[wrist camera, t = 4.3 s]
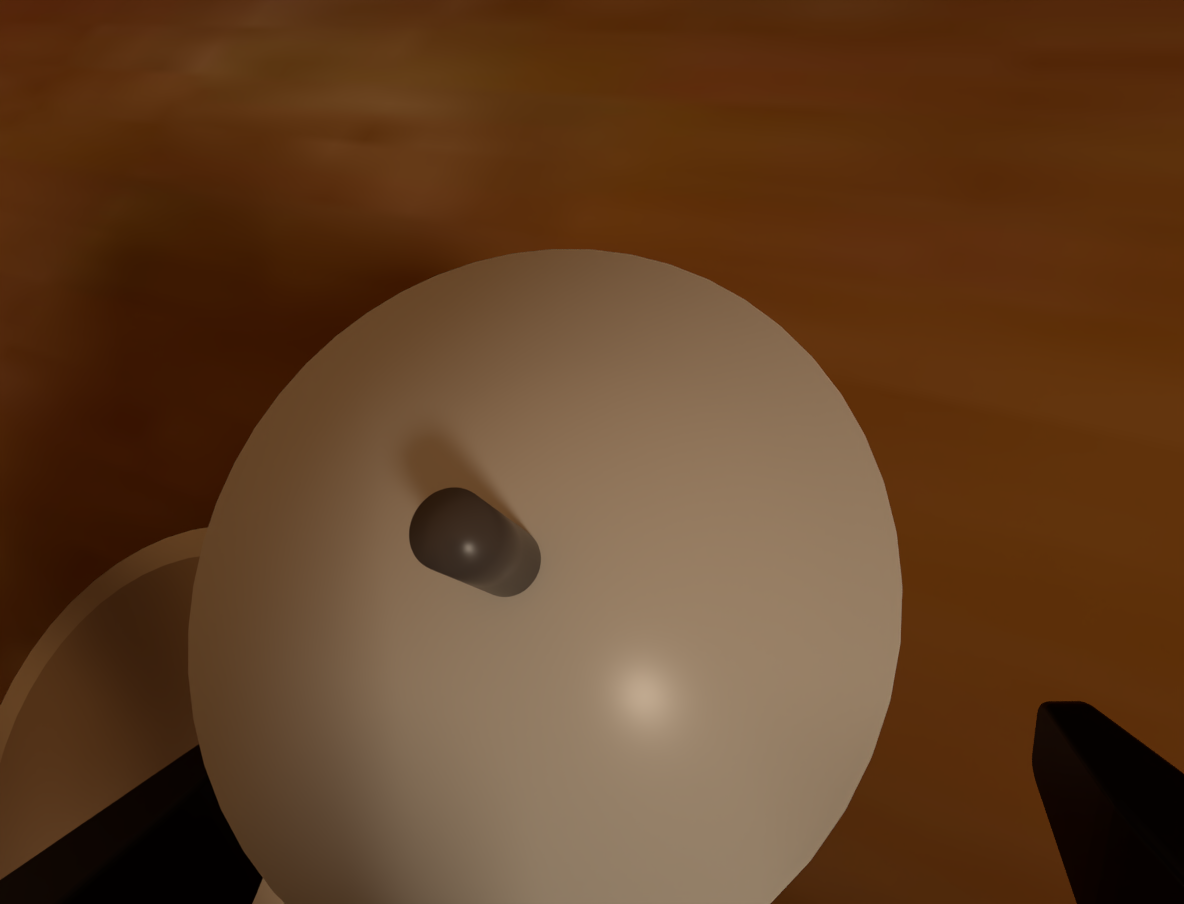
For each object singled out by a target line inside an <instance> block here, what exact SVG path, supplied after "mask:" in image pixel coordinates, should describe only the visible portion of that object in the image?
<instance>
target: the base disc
mask: <svg viewBox="0 0 1184 904" xmlns="http://www.w3.org/2000/svg"><path fill="white" fill-rule="evenodd" d="M207 529H208V527H207V528H201V529H195V530H190V531H187V532H184V533H180V534H177V535H174V536H171V537H167V538H165V539H163V540H160V541H158V542H156V543H154V544H152V545H149V546H147V547H145V548H143V549H141V550H139V551H137V552H136V553H134V554H132V555H131V556H129V557H127V558H126V559H124V560H122V561H121V562H119V563H117V564H116V565H114V566H113V567H112V568H111V569H109V570H108V571H107V572H105V573H104V574H103V575H101V576H100V577H99V578H97V579H96V580H95V581H93V582H92V583H91V584H90V585H89V586H88V587H87V588H86V589H85V590H84V591H82V592H81V593H80V594H79V595H78V596H77V597H76V598H75V599H74V600H73V601H72V602H71V603H70V604H69V605H68V606H67V607H66V608H65V609H64V610H63V612H62V613H61V614H60V615H59V616H58V617H57V618H56V619H55V620H54V622H53V623H52V624H51V625H50V626H49V628H48V629H47V630H46V632H45V633H44V634H43V636H42V637H41V638H40V640H39V641H38V642H37V644H36V645H35V646H34V648H33V649H32V650H31V652H30V653H29V655H28V657H27V658H26V660H25V662H24V663H23V665H22V666H21V668H20V670H19V671H18V673H17V675H16V676H15V678H14V679H13V681H12V683H11V685H10V687H9V689H8V691H7V693H6V695H5V697H4V699H3V701H2V703H1V705H0V880H1V879H2V878H4V877H5V876H7V875H8V874H10V873H11V872H12V871H14V870H15V869H17V868H18V867H20V866H21V865H23V864H24V863H26V862H27V861H29V860H30V859H31V858H33V857H34V856H36V855H37V854H39V853H40V852H42V851H43V850H45V849H46V848H47V847H49V846H50V845H52V844H53V843H55V842H56V841H58V840H59V839H61V838H62V837H64V836H65V835H66V834H68V833H69V832H71V831H72V830H74V829H75V828H77V827H78V826H80V825H81V824H83V823H84V822H85V821H87V820H88V819H90V818H91V817H93V816H94V815H96V814H97V813H99V812H100V811H102V810H103V809H104V808H106V807H107V806H109V805H110V804H112V803H113V802H115V801H116V800H118V799H119V798H121V797H122V796H123V795H125V794H126V793H128V792H129V791H131V790H132V789H134V788H135V787H137V786H138V785H139V784H141V783H142V782H144V781H145V780H147V779H148V778H150V777H151V776H153V775H154V774H156V773H157V772H158V771H160V770H161V769H163V768H164V767H166V766H167V765H169V764H170V763H172V762H173V761H175V760H176V759H177V758H179V757H180V756H182V755H183V754H185V753H186V752H188V751H189V750H191V749H192V748H194V747H195V746H196V745H198V744H199V741H198V737H197V733H196V728H195V724H194V720H193V712H192V703H191V694H190V685H189V676H188V628H189V619H190V610H191V602H192V593H193V585H194V580H195V576H196V571H197V567H198V562H199V558H200V554H201V549H202V545H203V541H204V538H205V535H206V532H207ZM253 904H285V903H284V902H283V901H282V900H281V899H280V898H279V897H278V896H277V895H276V894H275V893H274V892H273V891H272V889H271V888H270V887H269V885H268V884H267V883H266V881H265V880H264V879H262V882H261V884H260V887H259V889H258V892H257V894H256V897H255V899H254V901H253Z"/></svg>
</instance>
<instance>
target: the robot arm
mask: <svg viewBox="0 0 1184 904" xmlns="http://www.w3.org/2000/svg"><path fill="white" fill-rule="evenodd" d="M1032 766H1033V772H1034V777H1035V780H1036V784H1037V787H1038V790H1039V793H1040V796H1041V799H1042V802H1043V805H1044V808H1045V811H1046V813H1047V816H1048V819H1049V822H1050V825H1051V828H1052V831H1053V834H1054V837H1055V840H1056V843H1057V846H1058V849H1059V852H1060V855H1061V858H1062V861H1063V864H1064V867H1065V870H1066V873H1067V876H1068V879H1069V882H1070V885H1071V888H1072V891H1073V894H1074V897H1075V900H1076V903H1077V904H1184V773H1182V772H1181V771H1180V770H1178V769H1177V768H1175V767H1174V766H1173V765H1171V764H1170V763H1169V762H1167V761H1166V760H1165V759H1163V758H1162V757H1161V756H1159V755H1158V754H1157V753H1155V752H1154V751H1153V750H1151V749H1150V748H1148V747H1147V746H1146V745H1144V744H1143V743H1142V742H1140V741H1139V740H1138V739H1136V738H1135V737H1134V736H1132V735H1131V734H1130V733H1128V732H1127V731H1126V730H1124V729H1123V728H1121V727H1120V726H1119V725H1117V724H1116V723H1115V722H1113V721H1112V720H1111V719H1109V718H1108V717H1107V716H1105V715H1104V714H1103V713H1101V712H1100V711H1098V710H1097V709H1096V708H1094V707H1093V706H1091V705H1089V704H1087V703H1085V702H1081V701H1048V702H1044V703H1042V704H1041V705H1040V707H1039V709H1038V713H1037V720H1036V728H1035V737H1034V745H1033V753H1032ZM262 879H263V877H262V876H261V874H260V873H259V872H258V870H257V869H256V868H255V866H254V865H253V864H252V862H251V861H250V859H249V858H248V857H247V855H246V854H245V853H244V851H243V849H242V848H241V846H240V844H239V842H238V840H237V838H236V836H235V835H234V833H233V831H232V829H231V827H230V825H229V823H228V822H227V820H226V818H225V816H224V814H223V812H222V810H221V808H220V806H219V803H218V800H217V798H216V795H215V792H214V790H213V787H212V784H211V782H210V779H209V776H208V774H207V771H206V768H205V766H204V762H203V758H202V754H201V750H200V745H199V744H198V745H196V746H195V747H194V748H192V749H191V750H189V751H188V752H186V753H185V754H183V755H182V756H180V757H179V758H177V759H176V760H175V761H173V762H172V763H170V764H169V765H167V766H166V767H164V768H163V769H161V770H160V771H158V772H157V773H156V774H154V775H153V776H151V777H150V778H148V779H147V780H145V781H144V782H142V783H141V784H139V785H138V786H137V787H135V788H134V789H132V790H131V791H129V792H128V793H126V794H125V795H123V796H122V797H121V798H119V799H118V800H116V801H115V802H113V803H112V804H110V805H109V806H107V807H106V808H104V809H103V810H102V811H100V812H99V813H97V814H96V815H94V816H93V817H91V818H90V819H88V820H87V821H85V822H84V823H83V824H81V825H80V826H78V827H77V828H75V829H74V830H72V831H71V832H69V833H68V834H66V835H65V836H64V837H62V838H61V839H59V840H58V841H56V842H55V843H53V844H52V845H50V846H49V847H47V848H46V849H45V850H43V851H42V852H40V853H39V854H37V855H36V856H34V857H33V858H31V859H30V860H29V861H27V862H26V863H24V864H23V865H21V866H20V867H18V868H17V869H15V870H14V871H12V872H11V873H10V874H8V875H7V876H5V877H4V878H2V879H1V880H0V904H253V901H254V899H255V897H256V894H257V892H258V889H259V887H260V884H261V882H262Z"/></svg>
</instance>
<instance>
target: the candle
mask: <svg viewBox="0 0 1184 904" xmlns="http://www.w3.org/2000/svg"><path fill="white" fill-rule="evenodd" d="M901 610H902V579H901V570H900V560H899V551H898V542H897V533H896V529H895V525H894V521H893V517H892V513H891V509H890V505H889V501H888V497H887V493H886V489H885V485H884V481H883V479H882V476H881V474H880V471H879V469H878V466H877V464H876V461H875V459H874V457H873V454H872V452H871V449H870V447H869V444H868V442H867V439H866V437H865V435H864V433H863V431H862V429H861V428H860V426H859V424H858V423H857V421H856V419H855V417H854V416H853V414H852V412H851V410H850V409H849V407H848V405H847V404H846V402H845V400H844V398H843V397H842V395H841V393H840V392H839V391H838V389H837V388H836V387H835V386H834V384H833V383H832V382H831V380H830V379H829V378H828V377H827V375H826V374H825V373H824V371H823V370H822V369H821V368H820V366H819V365H818V364H817V362H816V361H815V360H814V359H813V357H812V356H811V355H810V354H809V353H808V352H807V351H806V350H805V349H803V348H802V347H801V346H800V345H799V344H798V343H797V342H796V341H795V340H794V339H793V338H792V337H791V336H790V335H789V334H788V333H787V332H786V331H785V330H784V329H783V328H782V327H781V326H780V325H778V324H777V323H776V322H774V321H773V320H772V319H770V318H769V317H768V316H766V315H765V314H764V313H762V312H761V311H760V310H758V309H757V308H755V307H754V306H753V305H751V304H750V303H749V302H747V301H746V300H745V299H743V298H741V297H739V296H737V295H735V294H734V293H732V292H730V291H728V290H726V289H725V288H723V287H721V286H719V285H717V284H715V283H714V282H712V281H710V280H708V279H706V278H703V277H701V276H698V275H696V274H693V273H690V272H688V271H685V270H683V269H680V268H678V267H675V266H673V265H670V264H666V263H662V262H658V261H655V260H651V259H647V258H643V257H639V256H635V255H631V254H623V253H615V252H607V251H599V250H591V249H549V250H540V251H531V252H522V253H513V254H508V255H504V256H500V257H495V258H491V259H486V260H482V261H478V262H474V263H471V264H468V265H465V266H462V267H459V268H456V269H453V270H450V271H447V272H445V273H442V274H439V275H436V276H434V277H432V278H430V279H428V280H426V281H423V282H421V283H419V284H417V285H415V286H413V287H411V288H409V289H406V290H404V291H402V292H400V293H399V294H397V295H395V296H394V297H392V298H390V299H389V300H387V301H385V302H384V303H382V304H380V305H379V306H377V307H375V308H374V309H372V310H371V311H369V312H367V313H366V314H365V315H363V316H362V317H361V318H359V319H358V320H357V321H355V322H354V323H353V324H351V325H350V326H349V327H347V328H346V329H345V330H343V331H342V332H341V333H339V334H338V335H337V336H336V337H334V338H333V339H332V340H331V341H330V342H329V343H328V344H327V345H326V346H325V347H324V348H323V349H321V350H320V351H319V352H318V353H317V354H316V355H315V356H314V357H313V358H312V359H311V360H309V361H308V362H307V363H306V364H305V366H304V367H303V368H302V369H301V370H300V371H299V372H298V373H297V375H296V376H295V377H294V378H293V379H292V380H291V381H290V382H289V384H288V385H287V386H286V387H285V388H284V389H283V390H282V391H281V393H280V394H279V395H278V396H277V398H276V399H275V401H274V402H273V403H272V405H271V406H270V407H269V409H268V410H267V412H266V413H265V414H264V416H263V417H262V418H261V420H260V421H259V423H258V424H257V425H256V427H255V428H254V430H253V432H252V434H251V435H250V437H249V439H248V440H247V442H246V444H245V446H244V447H243V449H242V451H241V452H240V454H239V456H238V458H237V459H236V461H235V463H234V465H233V467H232V469H231V471H230V474H229V476H228V478H227V480H226V482H225V485H224V487H223V489H222V491H221V493H220V496H219V498H218V500H217V502H216V505H215V508H214V511H213V514H212V517H211V520H210V523H209V526H208V529H207V532H206V535H205V538H204V541H203V545H202V549H201V554H200V558H199V562H198V567H197V571H196V576H195V580H194V585H193V593H192V602H191V610H190V619H189V628H188V676H189V685H190V694H191V703H192V712H193V720H194V724H195V728H196V733H197V737H198V741H199V745H200V750H201V754H202V758H203V762H204V766H205V768H206V771H207V774H208V776H209V779H210V782H211V784H212V787H213V790H214V792H215V795H216V798H217V800H218V803H219V806H220V808H221V810H222V812H223V814H224V816H225V818H226V820H227V822H228V823H229V825H230V827H231V829H232V831H233V833H234V835H235V836H236V838H237V840H238V842H239V844H240V846H241V848H242V849H243V851H244V853H245V854H246V855H247V857H248V858H249V859H250V861H251V862H252V864H253V865H254V866H255V868H256V869H257V870H258V872H259V873H260V874H261V876H262V877H263V879H264V880H265V881H266V883H267V884H268V885H269V887H270V888H271V889H272V891H273V892H274V893H275V894H276V895H277V896H278V897H279V898H280V899H281V900H282V901H283V902H284V903H285V904H770V903H771V902H772V901H773V900H774V899H775V898H776V897H777V896H778V895H779V894H780V893H781V892H782V891H783V890H784V888H785V887H786V886H787V885H788V884H789V883H790V882H791V881H792V880H793V879H794V878H795V877H796V876H797V875H798V874H799V872H800V871H801V870H802V869H803V868H804V867H805V866H806V865H807V864H808V863H809V862H810V861H811V859H812V858H813V856H814V855H815V853H816V852H817V851H818V849H819V848H820V846H821V845H822V843H823V842H824V840H825V839H826V838H827V836H828V835H829V833H830V832H831V830H832V829H833V827H834V826H835V825H836V823H837V822H838V820H839V819H840V817H841V816H842V814H843V813H844V812H845V810H846V808H847V806H848V804H849V802H850V800H851V798H852V796H853V794H854V792H855V790H856V788H857V786H858V783H859V781H860V779H861V777H862V775H863V773H864V771H865V769H866V767H867V765H868V763H869V761H870V759H871V757H872V755H873V751H874V748H875V745H876V742H877V739H878V736H879V733H880V730H881V727H882V724H883V721H884V718H885V715H886V712H887V709H888V706H889V703H890V699H891V693H892V688H893V682H894V676H895V671H896V665H897V659H898V654H899V648H900V640H901Z"/></svg>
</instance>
